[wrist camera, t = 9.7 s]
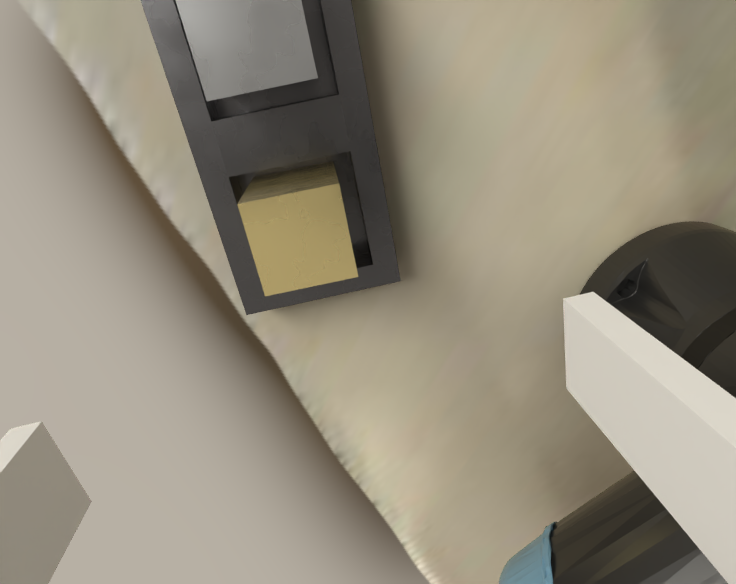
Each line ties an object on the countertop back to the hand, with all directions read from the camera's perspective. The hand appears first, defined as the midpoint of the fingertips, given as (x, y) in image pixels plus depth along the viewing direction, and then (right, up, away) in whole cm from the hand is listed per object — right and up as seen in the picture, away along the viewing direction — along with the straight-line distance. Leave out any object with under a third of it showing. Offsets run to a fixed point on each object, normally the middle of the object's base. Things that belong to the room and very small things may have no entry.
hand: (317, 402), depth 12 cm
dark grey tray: (-4, +12, +17) cm, 21 cm away
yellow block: (-3, +8, +18) cm, 20 cm away
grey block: (-5, +17, +14) cm, 23 cm away
